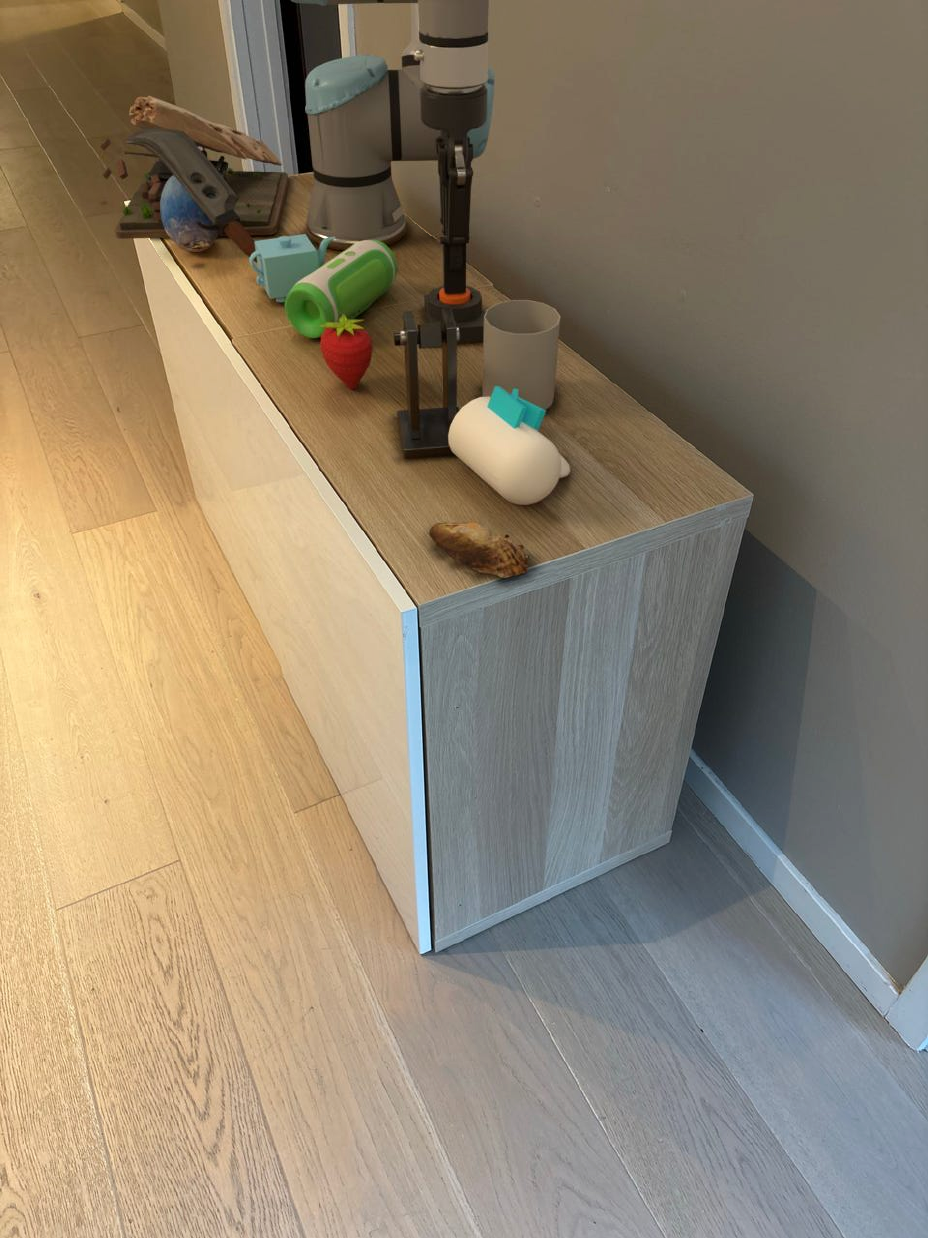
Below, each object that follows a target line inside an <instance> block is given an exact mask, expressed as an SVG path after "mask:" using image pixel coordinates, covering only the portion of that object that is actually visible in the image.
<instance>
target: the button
mask: <svg viewBox="0 0 928 1238" xmlns="http://www.w3.org/2000/svg"><path fill="white" fill-rule="evenodd" d="M439 301H441V302H443V303H447V304H463V303H466V302H469V301H470V290H469V289H468V288H466V293H450V294H445V292H444V288H442V289H441V290H440V291H439Z"/></svg>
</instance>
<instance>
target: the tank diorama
mask: <svg viewBox="0 0 928 1238" xmlns="http://www.w3.org/2000/svg"><path fill="white" fill-rule="evenodd" d="M111 144H112V141H111V139H109V138H108V137H106V138H105V139H104V141H102V143H101V144H100V146H99V147H100V148H101V149H102V150H103V151H105V150H106V149H107V148H108V147H109V146H110V145H111ZM200 150H201V151H202V153H203V154H204V155H205V156H206V157H207V158H208V152H207V151H206V150H204V149H203V150H202V149H200ZM124 154H125V155H137V156H145V157H153V158H156V159H158V160H156V161H155V162H154V164H153V166H152V167H151V169H150V171H149V170H148V171H147V172H145V173H144V176H143V177H142V179H141V181H140V182H139V184H138V186H137V188H136V190H135V192H134V193H133V195H132V197H131V199H130V200H129V203H128V204H125V205H123V206H120V207H121V209H122V210H121V211H122V215H121V217H120V219H119V220H118V222H117V224H116V225H115V227H114V234H115V238H117V239H118V240H130V239H131V240H132V239H163V238H164V239H165V238H166V239H167V238H168V239H169V238H170V237H169V236H168V234H167V233H166V231H165V228H164V226H163V222H162V219H161V212H160V200H161V195H162V192H163V189H164V187H165V184H166V182H167V181H168V180H169V178H170V177H172V176H173V174H172V172H171V171H170V170H169V169H168V167H167V166H166V165H165V164H164V163H163V161H162V160H161V159H159V158H158V157H157V156H156V155H155V154H153V153H148V152H147V153H143V152H135V151H127V150H125V151H124ZM208 160H209V161H210V162H211V163H212V165H213V166H214V167H215V168H216V169H217V171H218V172H219V173H220V174H221V176H222V177H223V178H224V179H225V181H226V182H227V183H228V185H229V186H230V187H231V188H232V190H233V191H234V192H235V194H236V195H237V196H238V198H239V199H238V201H237V202H236V204H235V206H234V211H235V212H236V214H237V215H238V216H239V217H240V224H241V225H242V226H243V227H244V229H245V230H246V231H247V232H248V233H249V235H250V236H270V235H275V234H276V233H277V232H278V228H279V225H280V224H279V223H280V220H281V216H282V212H283V211H282V210H283V206H284V202H285V198H286V194H287V189H288V185H289V182H290V180H289V174H288V173H287V172H285V171H258V170H255V171H250V170H249V171H246V170H234V169H233V167H229V162H227V161H225V156H224V155H220V157H219V159H218V160H213V159H212V160H211V159H208ZM115 164H116V169H117V174H118V176H119V178H120V179H121V180H124V179H126V178H127V177H129V173H128V170H127V166H126V162H125V161H124V160H123V159H119V160H118V161H116V162H115ZM112 172H113V171H112V170H111V169H110V168H109V167H107V168H106V169H105V170H104V172H103V174H102V177H103V178H105V179H106V180H108V178H109V177H110V176H111V175H112ZM217 237H228V235H227V234H226V235H224V236H223V235H221V234H219V233H218V236H217Z"/></svg>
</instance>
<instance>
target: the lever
mask: <svg viewBox="0 0 928 1238" xmlns="http://www.w3.org/2000/svg"><path fill="white" fill-rule="evenodd" d="M416 330H417V346H418V349H420V350H422V349H439V348H441V349H442V347H443V346H442V330H441V323H428V322H427V323H419V324H417V325H416ZM393 345H394V346H395V347H402V346H403V347H404V345H401V342H400V332H393Z"/></svg>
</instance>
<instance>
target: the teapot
mask: <svg viewBox="0 0 928 1238" xmlns="http://www.w3.org/2000/svg"><path fill="white" fill-rule="evenodd" d="M333 239H335V237H328V238H325V239H324V240H323V241H322V242H321V244H320V245H319V247H318V250H317V248H316V247H315V246H314V244H313V243H312V242H311V239H310V238H309V236H308V235H307V234H306V233H303V234H296V235H282V236H279V237H275V238H267V239H261V240H260V239H259V240H254V241H255V242H254V243H255V249H256V251H255V252H254V253H252V255H251V256H250V257H249V259H248V260H249V261H248V262H249V264H250V267H251V268H252V270H253V271H254V272H255V273H256V274H258V275H257V276H256V278H255V281H256V284H257V285H258V286H259V287H263V288H264V290H265V292H266V294H267V296H268V297H269V299H270V300H271V299H275V301H276V302H277V303H285V300H286V297H287V295H288V293H289V292H290V290H291V289H292V288H293V286H294V285H295V284H296V283H297V282H298V281H300V280H301V279H302V278H304V277H306V276H307V275H309V274H311V273H312V272H314V271H315V270H317V269H318V268H320V267H321V266H323V265H324V264H325V259H326V252H327V246H328V244H329V243H330V242H331V241H332V240H333ZM255 257H257V262H258V263H257V262H256V263H257V266H256V264H255V261H254V259H255Z"/></svg>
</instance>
